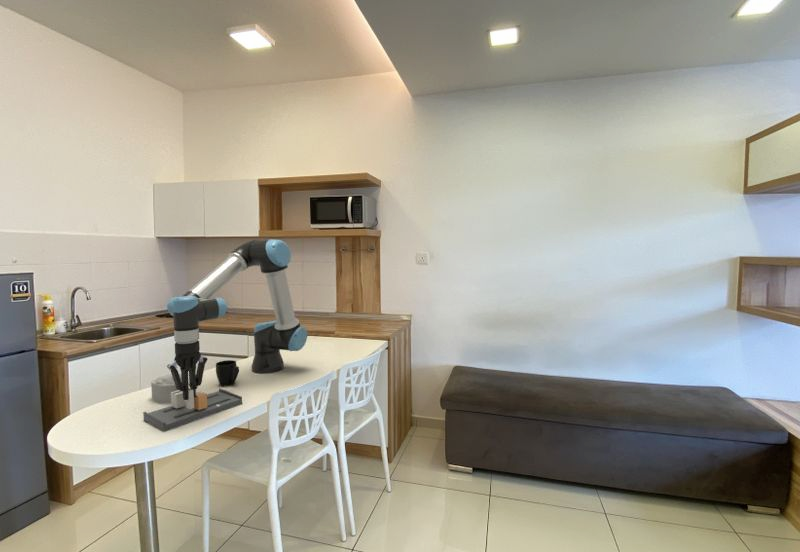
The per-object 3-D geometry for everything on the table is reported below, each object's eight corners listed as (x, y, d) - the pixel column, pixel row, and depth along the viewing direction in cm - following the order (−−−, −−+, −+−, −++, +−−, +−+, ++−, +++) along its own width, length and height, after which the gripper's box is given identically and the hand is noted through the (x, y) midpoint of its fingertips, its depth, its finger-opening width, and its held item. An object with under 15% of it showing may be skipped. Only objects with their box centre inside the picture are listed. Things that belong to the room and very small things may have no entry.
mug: (229, 390, 165) (228, 368, 164) (212, 385, 171) (211, 363, 170) (246, 384, 171) (245, 363, 171) (229, 379, 178) (228, 359, 177)
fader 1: (180, 403, 145) (179, 389, 144) (185, 405, 142) (184, 391, 142) (171, 406, 142) (170, 391, 142) (176, 408, 140) (175, 394, 139)
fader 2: (201, 404, 143) (201, 390, 143) (207, 407, 141) (206, 393, 140) (193, 407, 141) (192, 393, 140) (198, 410, 138) (198, 395, 138)
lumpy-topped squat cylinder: (175, 391, 164) (174, 370, 164) (192, 397, 157) (191, 376, 157) (148, 399, 155) (147, 377, 155) (165, 406, 148) (164, 383, 148)
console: (220, 395, 159) (220, 388, 159) (242, 403, 150) (241, 396, 150) (143, 420, 136) (143, 412, 136) (163, 431, 128) (163, 423, 127)
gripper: (200, 336, 143) (202, 399, 145) (161, 343, 133) (165, 411, 135) (211, 339, 139) (213, 404, 141) (172, 346, 129) (175, 416, 130)
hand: (190, 407), depth 138 cm, fingers closed
